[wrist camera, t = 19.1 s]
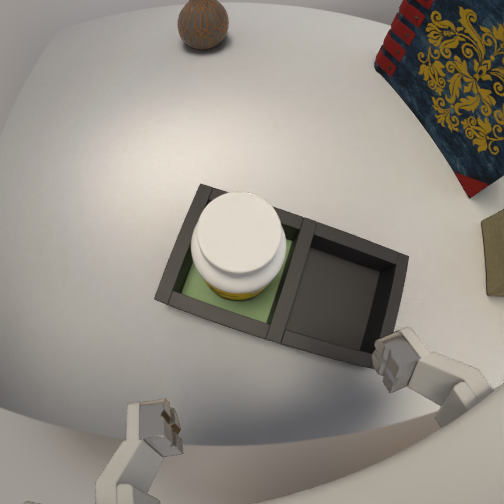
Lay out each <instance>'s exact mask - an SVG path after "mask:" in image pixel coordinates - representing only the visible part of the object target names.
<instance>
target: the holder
mask: <svg viewBox="0 0 504 504" xmlns="http://www.w3.org/2000/svg"><path fill="white" fill-rule="evenodd" d="M226 193H229V192H226V191H223V190H219V189H216V188H213V187H210V186H207V185H203V184H200V185H199V188H198V190H197V192H196V195H195V197H194V199H193V202H192V204H191V206H190V209H189V211H188V213H187V216H186V218H185V220H184V223H183V225H182V228H181V230H180V233H179V235H178V237H177V240H176V242H175V245H174V248H173V250H172V253H171V255H170V258H169V260H168V263H167V265H166V268H165V271H164V273H163V276H162V279H161V281H160V284H159V287H158V290H157V292H156V295H155V298H154V299H155V300H157V301H159V302H162V303H164V304H167V305H170V306H172V307H175V308H177V309H180V310H183V311H185V312H188V313H191V314H193V315H196V316H199V317H202V318H204V319H207V320H210V321H213V322H216V323H219V324H221V325H224V326H227V327H230V328H233V329H236V330H239V331H242V332H245V333H248V334H251V335H254V336H257V337H260V338H264V339H267V340H270V341H273V342H276V343H280V344H283V345H286V346H290V347H293V348H296V349H300V350H303V351H307V352H310V353H314V354H317V355H321V356H325V357H328V358H332V359H336V360H340V361H343V362H347V363H351V364H355V365H359V366H363V367H367V368H372V369H375V368H374V366H373V362H372V354H373V352H374V351H375V349H376V348H375V346H374V344H375V341H376V340H377V339H379V338H381V337H384V336H386V335H388V334H391V333H393V331H394V327H395V323H396V319H397V315H398V311H399V306H400V302H401V297H402V292H403V287H404V282H405V277H406V271H407V266H408V260H409V256H407V255H404V254H402V253H399V252H396V251H394V250H391V249H389V248H386V247H384V246H381V245H378V244H376V243H373V242H371V241H368V240H365V239H363V238H360V237H357V236H355V235H352V234H349V233H347V232H344V231H341V230H338V229H336V228H333V227H330V226H327V225H325V224H322V223H319V222H316V221H313V220H311V219H308V218H305V217H304V218H303V217H302V216H299V215H296V214H293V213H290V212H287V211H284V210H281V209H278V208H275V207H273V208H274V210H275V211H276V213H277V215H278V217H279V219H280V222H281V226H282V228H283V230H284V233H285V237H286V255H285V259H284V262H283V265H282V267H281V269H280V271H279V272H278V274H277V275H276V276H275V278H274V279H273V280H272V281H271V282H270V283H269V284H268V286H267V287H266V288H265V289H264V290H263V291H262V292H261V293H260V294H258V295H257V296H255V297H253V298H251V299H248V300H245V301H231V300H227V299H224V298H222V297H220V296H218V295H217V294H215V293H214V292H213V291H212V290H211V289H210V288H209V286H208V285H207V284H206V282H205V281H204V279H203V278H202V277H201V275H200V274H199V272H198V270H197V269H196V267H195V264H194V261H193V258H192V253H191V240H192V235H193V232H194V229H195V227H196V225H197V223H198V221H199V218H200V215H201V214H202V212H203V210H204V209H205V207H206V206H207V205H208V204H209V203H210V202H211V201H213V200H214V199H215V198H217V197H219V196H221V195H223V194H226Z"/></svg>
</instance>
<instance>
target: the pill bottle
mask: <svg viewBox="0 0 504 504" xmlns="http://www.w3.org/2000/svg"><path fill="white" fill-rule="evenodd" d="M191 253H192V258H193V261H194V264H195V267H196V269H197V270H198V272H199V274H200V275H201V277H202V278H203V279H204V281H205V282H206V284H207V285H208V286H209V288H210V289H211V290H212V291H213V292H214V293H215V294H217V295H218V296H220V297H222V298H224V299H227V300H231V301H245V300H248V299H251V298H253V297H255V296H257V295H258V294H260V293H261V292H262V291H263V290H264V289H265V288H266V287H267V286H268V284H269V283H270V282H271V281H272V280H273V279H274V278H275V276H276V275H277V274H278V272H279V271H280V269H281V267H282V265H283V262H284V259H285V255H286V237H285V233H284V230H283V228H282V226H281V222H280V219H279V217H278V215H277V213H276V211H275V210H274V208H273V207H272V206H271V205H270V204H269V203H268V202H267V201H266V200H264V199H263V198H261V197H259V196H257V195H255V194H252V193H248V192H230V193H226V194H223V195H221V196H219V197H217V198H215V199H214V200H213V201H211V202H210V203H209V204H208V205H207V206H206V207H205V209H204V210H203V212H202V214H201V215H200V218H199V221H198V223H197V225H196V227H195V229H194V232H193V235H192V240H191Z"/></svg>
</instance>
